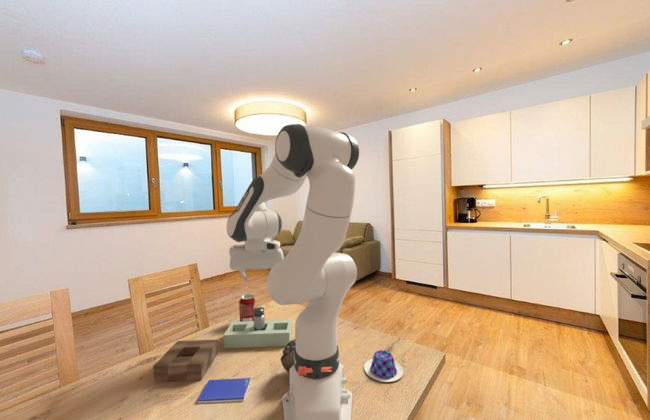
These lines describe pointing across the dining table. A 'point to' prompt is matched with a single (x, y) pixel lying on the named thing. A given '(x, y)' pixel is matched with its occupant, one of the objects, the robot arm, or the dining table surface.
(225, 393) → the blue book
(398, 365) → the pudding
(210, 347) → the socket block
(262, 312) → the salt shaker
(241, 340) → the tool rack
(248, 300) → the soda can
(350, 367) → the dining table surface
